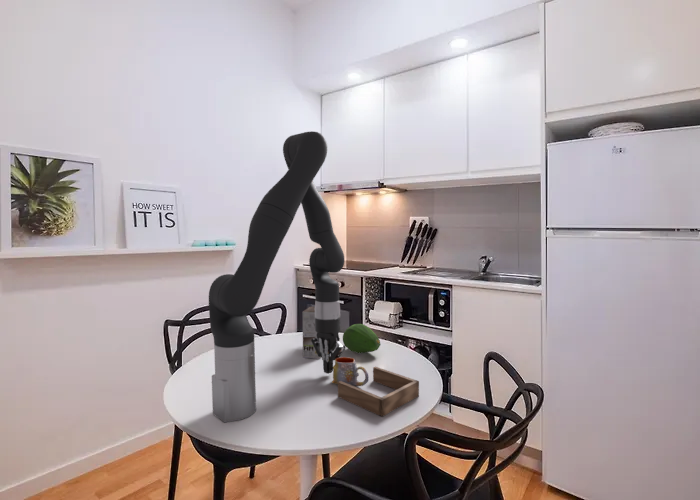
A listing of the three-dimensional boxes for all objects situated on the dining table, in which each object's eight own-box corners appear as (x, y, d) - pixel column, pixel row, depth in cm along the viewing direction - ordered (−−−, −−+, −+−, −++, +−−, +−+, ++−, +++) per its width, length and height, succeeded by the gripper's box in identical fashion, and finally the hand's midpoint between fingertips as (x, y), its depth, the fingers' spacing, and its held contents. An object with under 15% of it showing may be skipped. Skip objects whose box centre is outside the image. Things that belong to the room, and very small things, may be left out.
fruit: (387, 355, 131) (386, 326, 130) (366, 362, 124) (365, 332, 124) (357, 345, 142) (357, 318, 142) (337, 350, 136) (336, 323, 135)
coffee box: (320, 359, 127) (319, 311, 126) (302, 358, 129) (301, 311, 128) (327, 350, 136) (327, 306, 135) (310, 349, 138) (309, 305, 137)
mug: (328, 382, 108) (327, 359, 108) (345, 375, 113) (344, 353, 113) (358, 395, 100) (358, 370, 100) (375, 386, 105) (375, 363, 104)
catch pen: (382, 416, 89) (382, 400, 88) (338, 396, 99) (337, 381, 99) (418, 396, 99) (418, 381, 99) (375, 380, 110) (375, 366, 109)
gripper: (303, 314, 114) (304, 370, 115) (333, 321, 105) (334, 382, 106) (321, 309, 119) (322, 363, 120) (352, 316, 110) (353, 374, 111)
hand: (328, 372), depth 113 cm, fingers closed
